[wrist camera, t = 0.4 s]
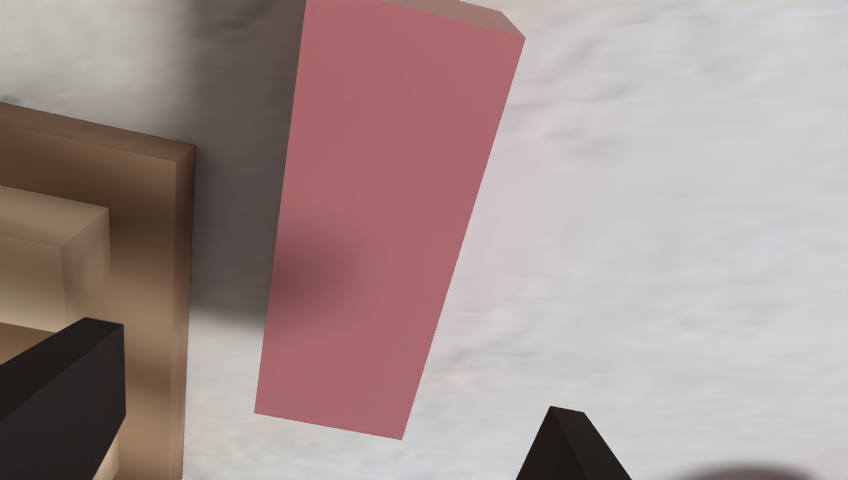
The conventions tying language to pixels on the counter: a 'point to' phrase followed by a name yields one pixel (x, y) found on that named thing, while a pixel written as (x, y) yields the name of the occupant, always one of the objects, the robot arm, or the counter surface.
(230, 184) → the counter surface
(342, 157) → the pink rectangular block
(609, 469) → the robot arm
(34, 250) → the stand
